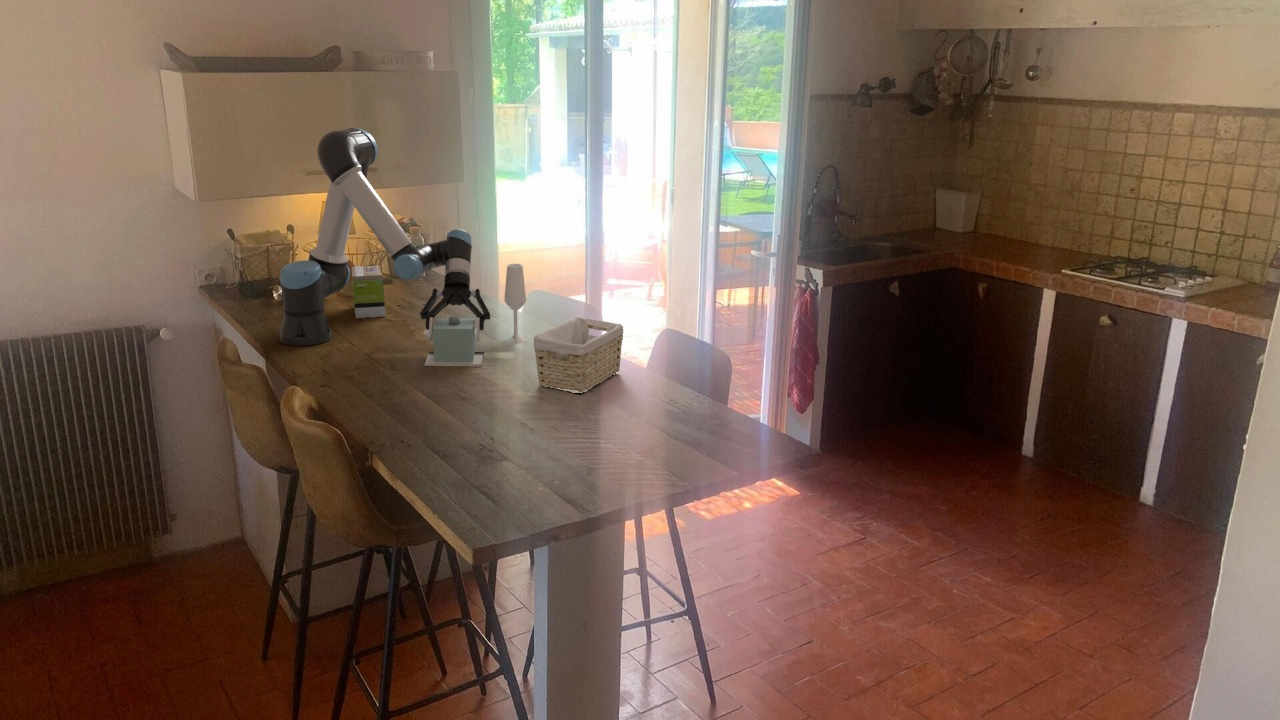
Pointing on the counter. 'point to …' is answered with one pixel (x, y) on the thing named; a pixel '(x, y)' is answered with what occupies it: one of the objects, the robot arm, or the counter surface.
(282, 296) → the robot arm
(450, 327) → the cover
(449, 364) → the mat
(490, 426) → the counter surface
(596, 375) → the storage basket
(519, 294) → the champagne flute
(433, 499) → the counter surface
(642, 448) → the counter surface
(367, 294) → the tea box
